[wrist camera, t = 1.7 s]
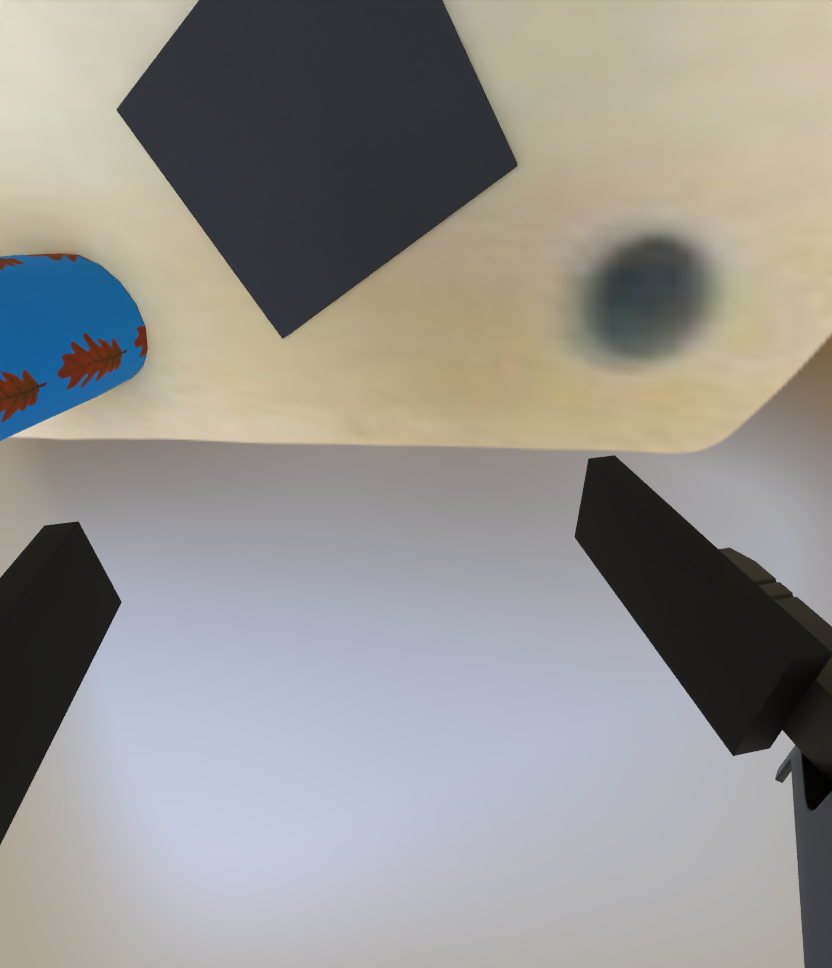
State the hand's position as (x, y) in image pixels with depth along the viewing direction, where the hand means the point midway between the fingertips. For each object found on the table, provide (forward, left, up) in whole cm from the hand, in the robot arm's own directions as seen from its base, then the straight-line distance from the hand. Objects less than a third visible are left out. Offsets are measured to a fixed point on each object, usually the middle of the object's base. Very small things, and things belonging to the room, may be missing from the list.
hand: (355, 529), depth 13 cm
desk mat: (-15, -2, -25) cm, 29 cm away
